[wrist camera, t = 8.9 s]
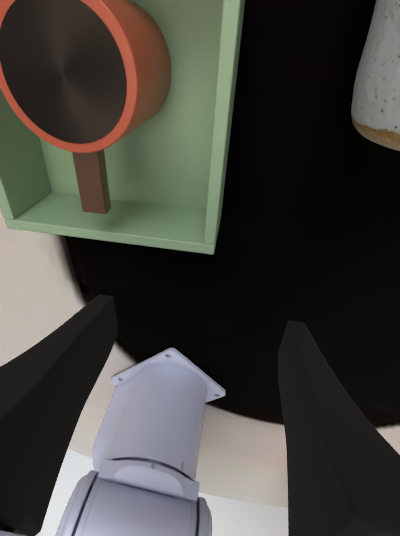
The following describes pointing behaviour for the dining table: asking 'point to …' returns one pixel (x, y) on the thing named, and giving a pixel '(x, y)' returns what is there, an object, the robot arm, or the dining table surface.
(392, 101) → the ceramic mug
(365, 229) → the dining table surface
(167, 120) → the drawer
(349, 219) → the dining table surface
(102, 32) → the pot
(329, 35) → the dining table surface
